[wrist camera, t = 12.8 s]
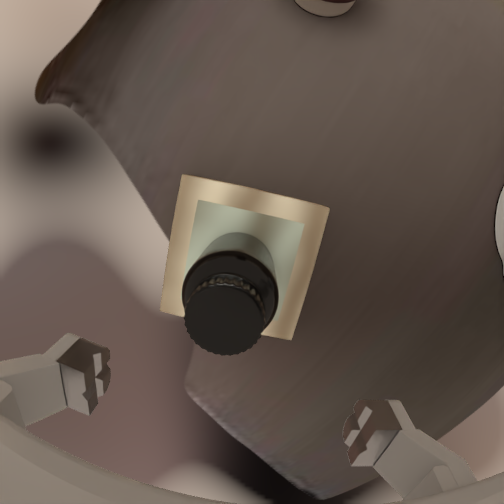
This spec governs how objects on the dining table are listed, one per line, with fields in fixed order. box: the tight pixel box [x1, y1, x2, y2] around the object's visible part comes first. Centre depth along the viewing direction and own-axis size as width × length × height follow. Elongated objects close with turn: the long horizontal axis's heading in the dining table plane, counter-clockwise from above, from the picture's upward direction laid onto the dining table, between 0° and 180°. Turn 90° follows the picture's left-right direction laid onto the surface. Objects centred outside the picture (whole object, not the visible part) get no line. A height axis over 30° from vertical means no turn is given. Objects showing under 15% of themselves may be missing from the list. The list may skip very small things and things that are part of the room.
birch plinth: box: [160, 174, 330, 340], centre depth 30 cm, size 14×14×3 cm
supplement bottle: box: [182, 232, 279, 356], centre depth 23 cm, size 7×7×12 cm
